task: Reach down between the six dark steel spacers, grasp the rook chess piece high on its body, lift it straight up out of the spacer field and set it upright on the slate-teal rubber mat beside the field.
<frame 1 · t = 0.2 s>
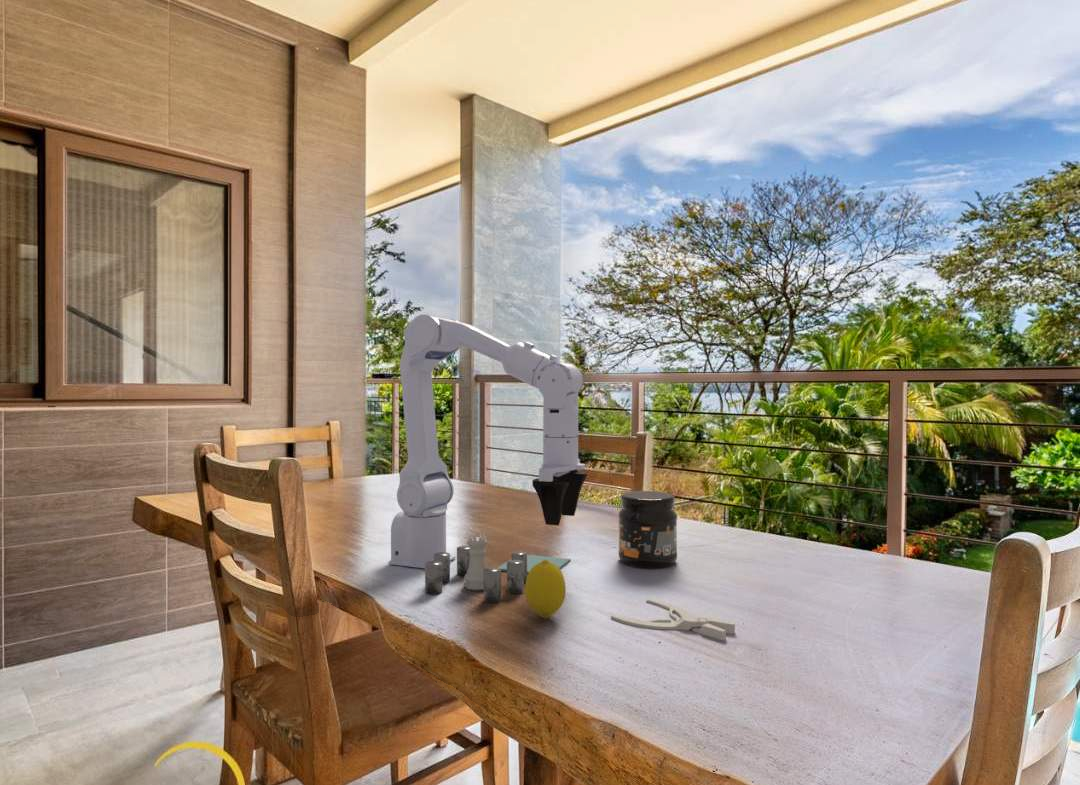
hand: (560, 519, 105), 10 cm above the table, tool pointing down, fingers open, 7 cm apart
lemon: (545, 619, 88), on the table
pliers: (677, 626, 86), on the table
supplement container: (647, 562, 116), on the table
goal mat: (534, 565, 113), on the table
spacer field: (477, 586, 102), on the table
rook chess piece: (477, 587, 102), on the table
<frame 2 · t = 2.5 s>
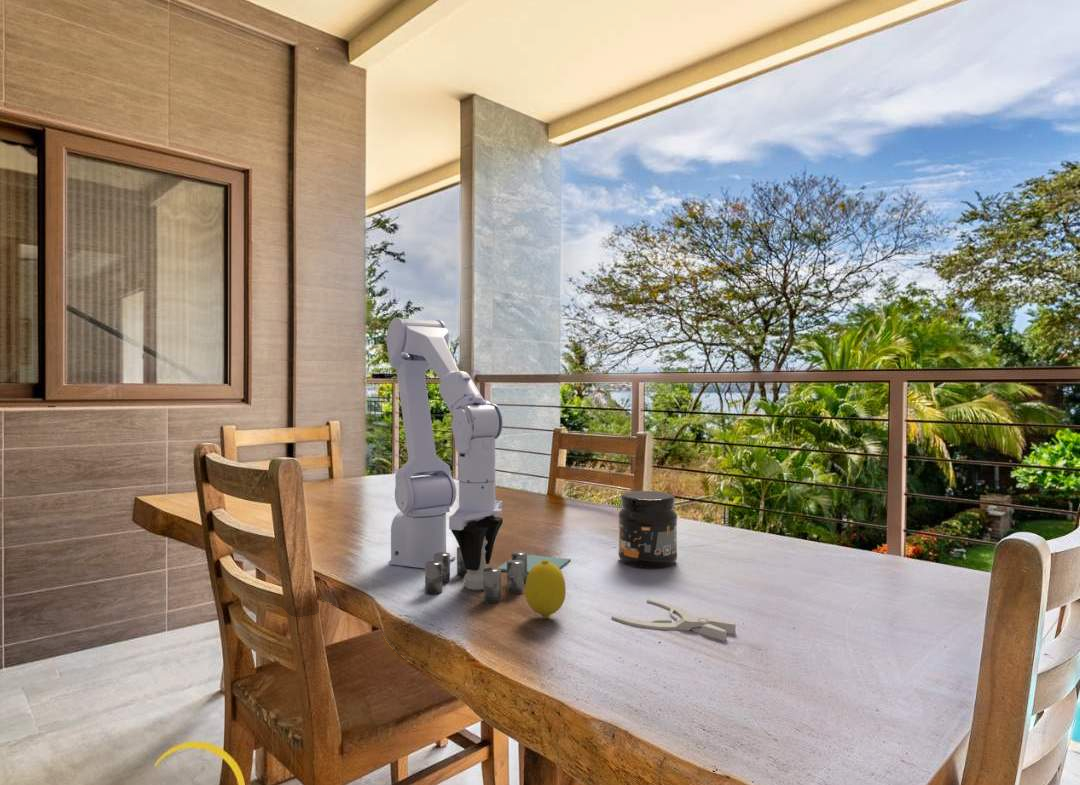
hand: (477, 566, 102), 3 cm above the table, tool pointing down, fingers closed on rook chess piece, 3 cm apart
rook chess piece: (477, 587, 102), on the table, touching gripper
everything else where it was.
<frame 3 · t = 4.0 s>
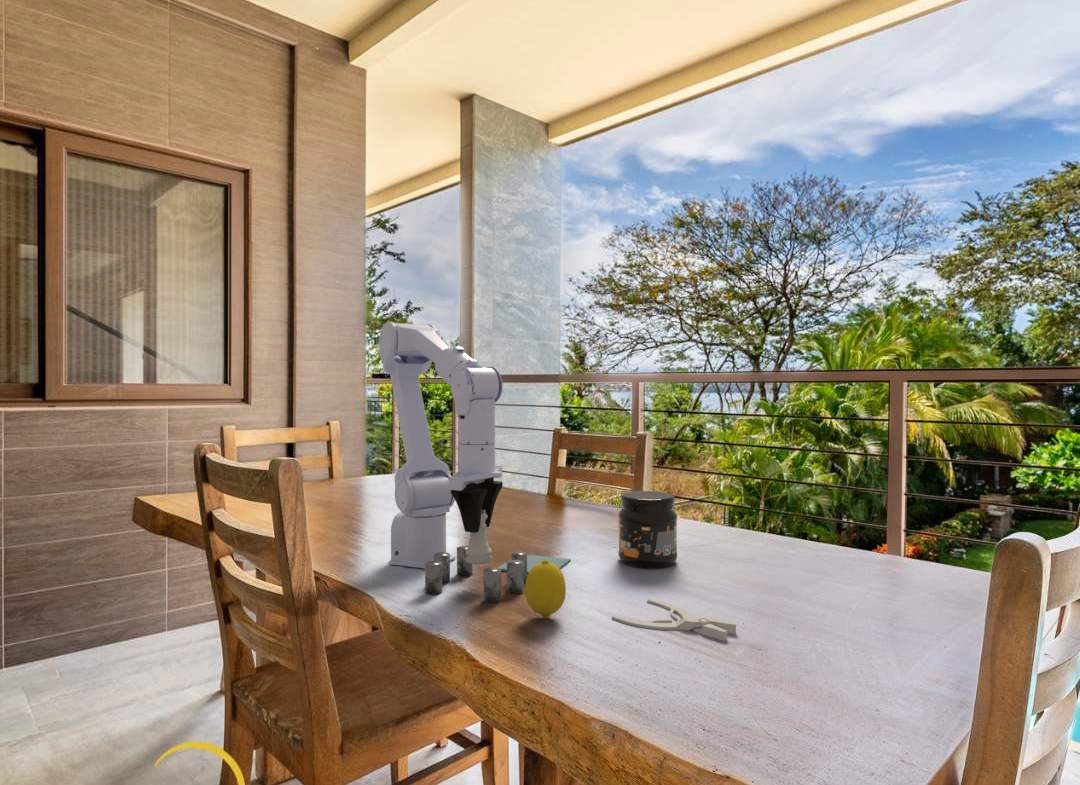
hand: (477, 529, 102), 9 cm above the table, tool pointing down, fingers closed on rook chess piece, 3 cm apart
rook chess piece: (478, 562, 101), point 4 cm above the table, touching gripper
everything else where it was.
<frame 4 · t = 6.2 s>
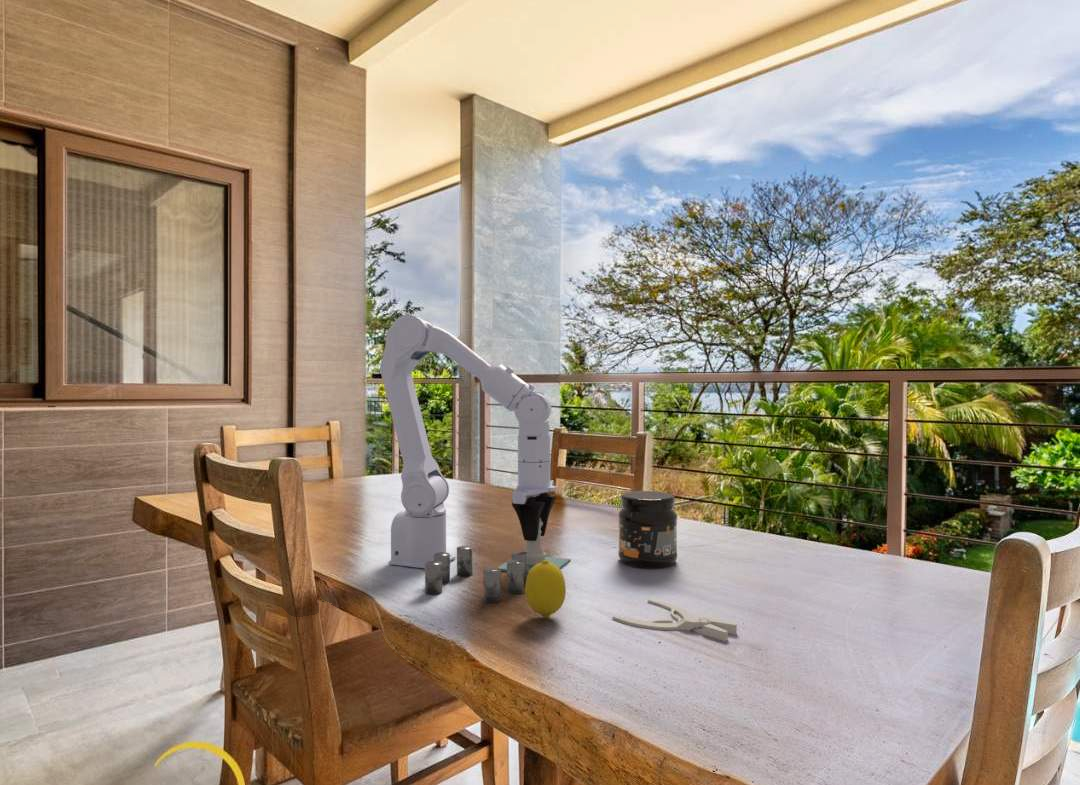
hand: (534, 537, 113), 5 cm above the table, tool pointing down, fingers closed on rook chess piece, 3 cm apart
rook chess piece: (534, 564, 113), resting on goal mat, touching gripper
everything else where it was.
when the fingers open (5 cm above the table, at t = 6.9 s): rook chess piece stays where it is, resting on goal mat.
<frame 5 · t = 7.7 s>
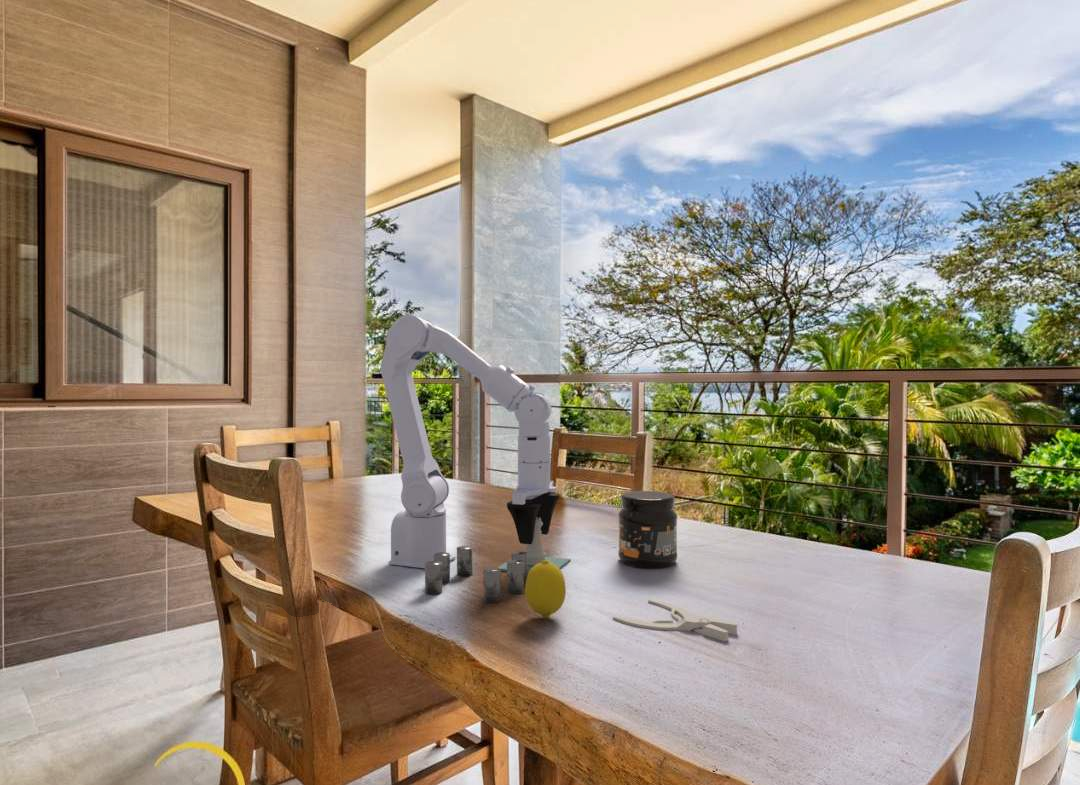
hand: (534, 538, 113), 5 cm above the table, tool pointing down, fingers open, 7 cm apart
rook chess piece: (534, 564, 113), resting on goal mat
everything else where it was.
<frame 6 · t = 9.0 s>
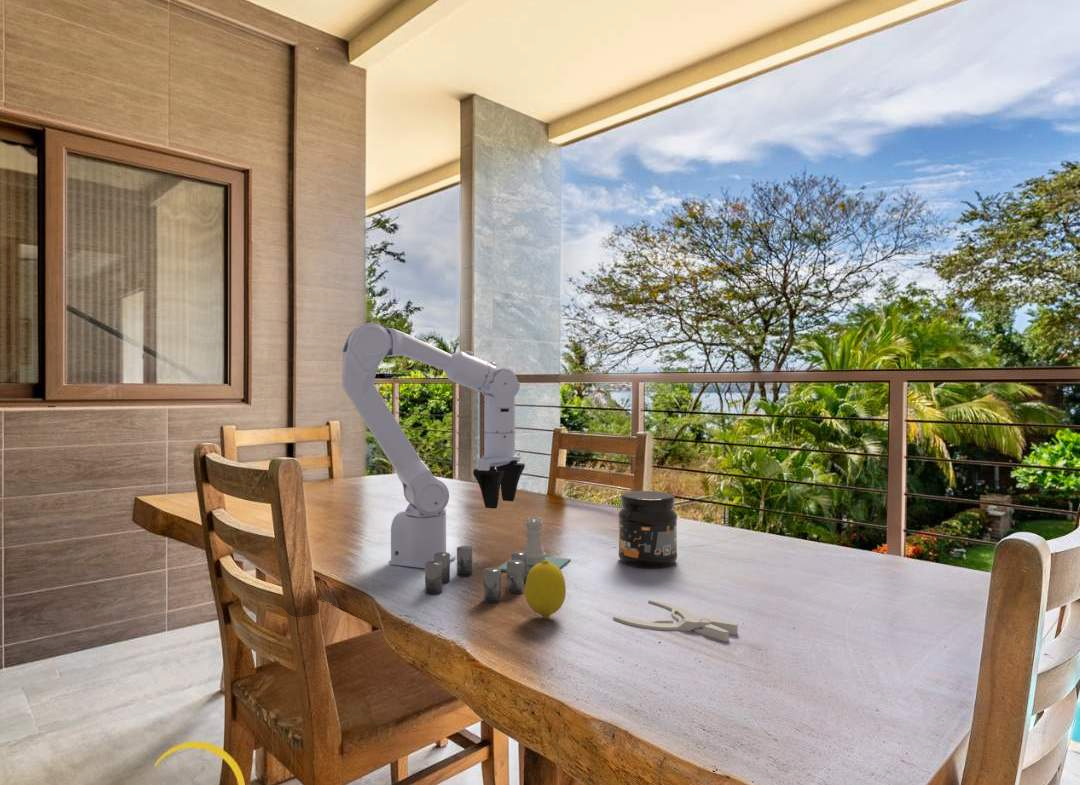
hand: (500, 504, 121), 9 cm above the table, tool pointing down, fingers open, 7 cm apart
nothing on the table moved.
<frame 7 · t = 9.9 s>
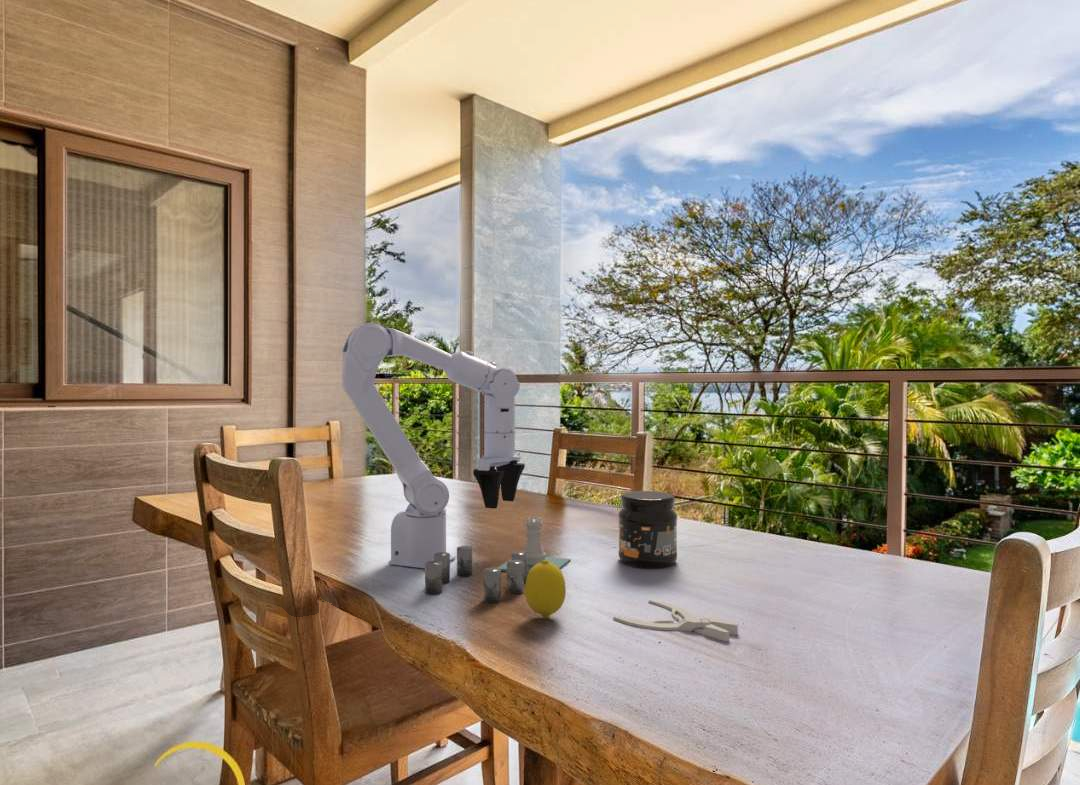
hand: (500, 504, 121), 9 cm above the table, tool pointing down, fingers open, 7 cm apart
nothing on the table moved.
at the end: rook chess piece 0.1 cm off-centre on the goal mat, point 0.2 cm above the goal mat's base; rook chess piece tilted 0°; the gripper is holding nothing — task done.
